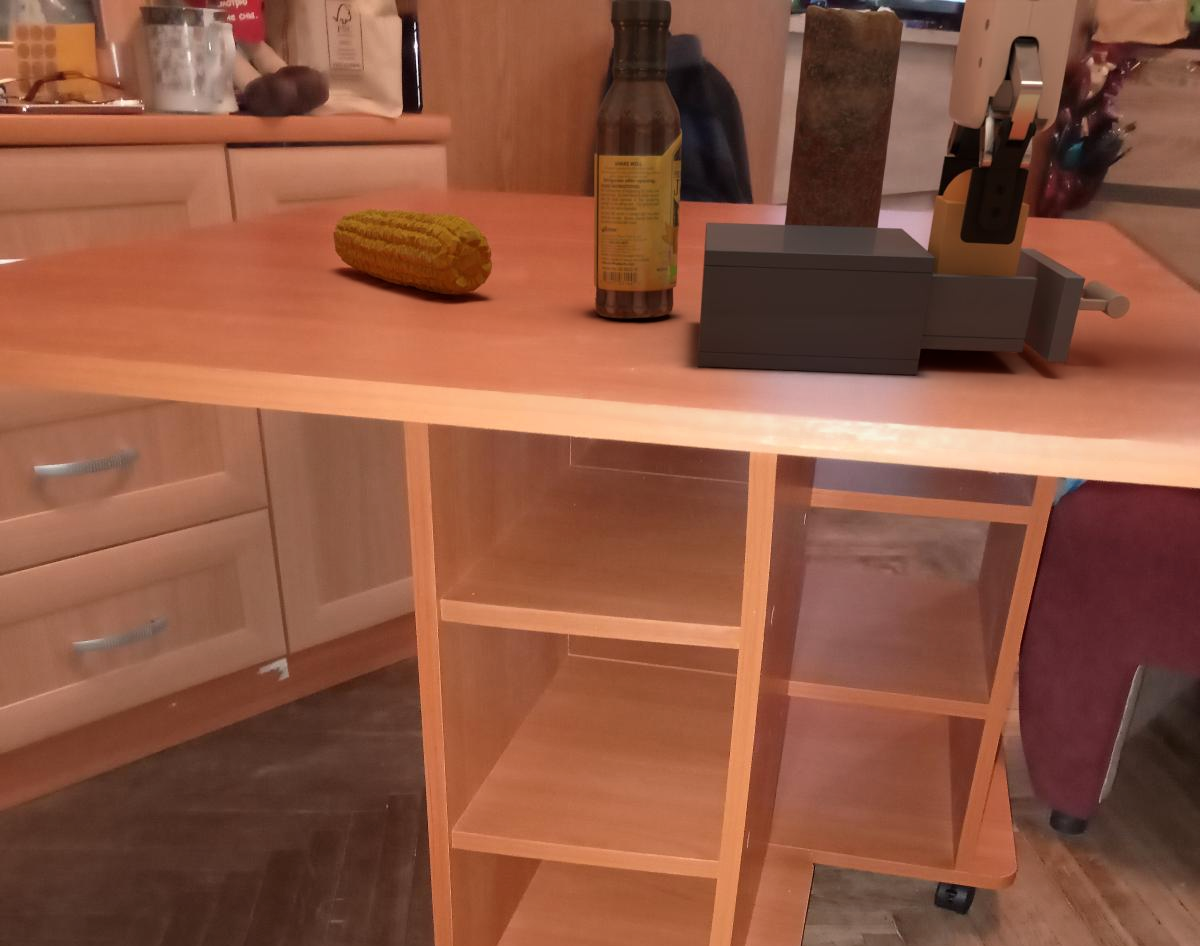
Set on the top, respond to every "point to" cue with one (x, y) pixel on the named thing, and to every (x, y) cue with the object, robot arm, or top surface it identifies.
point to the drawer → (1015, 308)
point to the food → (415, 249)
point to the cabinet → (813, 298)
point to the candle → (843, 117)
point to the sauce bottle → (637, 169)
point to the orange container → (969, 256)
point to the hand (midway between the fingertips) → (971, 233)
